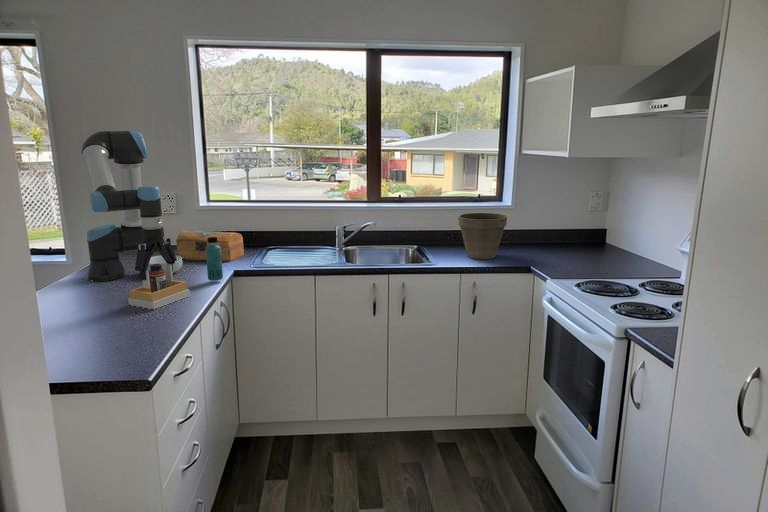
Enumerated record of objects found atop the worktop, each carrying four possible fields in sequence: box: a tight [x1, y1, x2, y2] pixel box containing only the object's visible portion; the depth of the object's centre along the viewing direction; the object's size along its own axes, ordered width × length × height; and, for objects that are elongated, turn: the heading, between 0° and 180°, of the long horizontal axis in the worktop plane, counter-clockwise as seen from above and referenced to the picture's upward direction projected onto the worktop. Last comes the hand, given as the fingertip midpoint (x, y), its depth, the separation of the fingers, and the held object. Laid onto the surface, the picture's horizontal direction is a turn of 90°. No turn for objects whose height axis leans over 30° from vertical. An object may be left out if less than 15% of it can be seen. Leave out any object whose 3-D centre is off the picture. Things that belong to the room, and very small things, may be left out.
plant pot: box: [457, 212, 508, 260], centre depth 269 cm, size 25×25×22 cm
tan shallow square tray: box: [127, 279, 191, 309], centre depth 201 cm, size 18×18×6 cm
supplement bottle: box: [149, 264, 167, 293], centre depth 199 cm, size 6×6×11 cm
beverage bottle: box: [206, 237, 224, 282], centre depth 224 cm, size 6×7×20 cm
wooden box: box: [175, 230, 245, 263], centre depth 269 cm, size 30×16×14 cm, turn 77°
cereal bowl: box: [146, 255, 183, 275], centre depth 239 cm, size 17×17×7 cm
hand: (158, 284), depth 199 cm, fingers open, 10 cm apart
